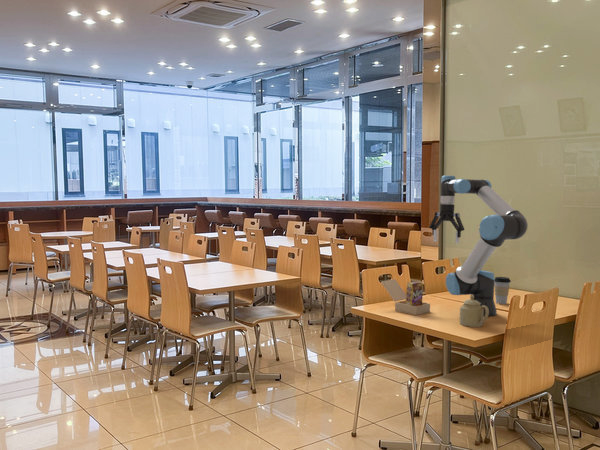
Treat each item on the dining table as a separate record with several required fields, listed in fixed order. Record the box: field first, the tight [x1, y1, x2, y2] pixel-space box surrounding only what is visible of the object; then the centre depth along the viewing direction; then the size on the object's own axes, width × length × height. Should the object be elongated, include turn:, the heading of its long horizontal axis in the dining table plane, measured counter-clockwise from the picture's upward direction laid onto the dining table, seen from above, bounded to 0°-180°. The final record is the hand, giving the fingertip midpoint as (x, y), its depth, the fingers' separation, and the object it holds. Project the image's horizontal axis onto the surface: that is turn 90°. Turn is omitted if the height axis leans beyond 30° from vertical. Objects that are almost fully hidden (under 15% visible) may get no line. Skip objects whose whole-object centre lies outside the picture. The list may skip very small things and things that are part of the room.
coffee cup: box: [494, 276, 511, 305], centre depth 333 cm, size 9×9×15 cm
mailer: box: [394, 299, 431, 316], centre depth 305 cm, size 14×13×4 cm
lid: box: [380, 278, 406, 303], centre depth 313 cm, size 14×13×1 cm
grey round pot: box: [459, 294, 489, 328], centre depth 276 cm, size 15×11×15 cm
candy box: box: [405, 281, 424, 306], centre depth 304 cm, size 9×4×15 cm, turn 127°
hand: (445, 242), depth 312 cm, fingers open, 13 cm apart
